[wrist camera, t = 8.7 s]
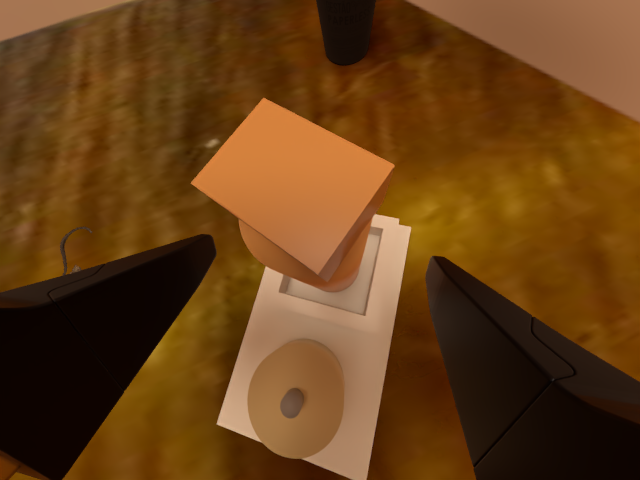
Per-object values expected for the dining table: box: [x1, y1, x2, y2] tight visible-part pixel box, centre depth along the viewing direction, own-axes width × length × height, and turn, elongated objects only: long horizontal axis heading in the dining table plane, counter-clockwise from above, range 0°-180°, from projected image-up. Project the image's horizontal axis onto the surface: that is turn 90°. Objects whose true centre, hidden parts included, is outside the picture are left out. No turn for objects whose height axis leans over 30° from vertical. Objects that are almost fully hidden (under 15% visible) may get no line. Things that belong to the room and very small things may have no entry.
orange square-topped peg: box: [191, 98, 395, 292], centre depth 12 cm, size 4×4×14 cm
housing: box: [217, 214, 411, 480], centre depth 17 cm, size 18×11×5 cm, turn 165°
